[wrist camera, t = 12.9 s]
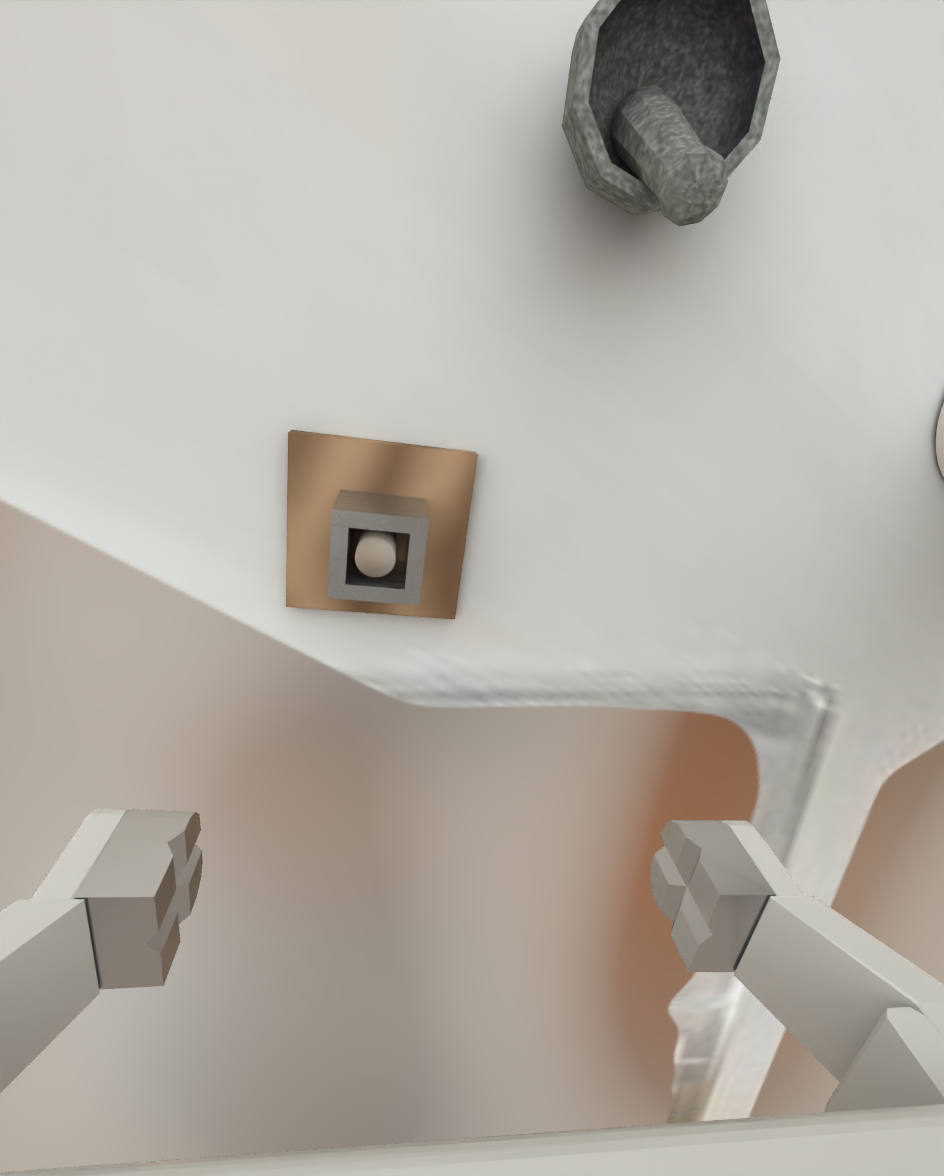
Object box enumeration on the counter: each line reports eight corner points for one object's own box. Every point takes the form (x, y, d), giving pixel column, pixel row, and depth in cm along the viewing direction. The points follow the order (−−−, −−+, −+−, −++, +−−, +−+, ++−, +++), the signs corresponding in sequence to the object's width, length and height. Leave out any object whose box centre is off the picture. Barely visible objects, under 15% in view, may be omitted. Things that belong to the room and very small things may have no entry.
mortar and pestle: (558, 3, 30) (649, -199, 19) (722, 38, 31) (899, -132, 20) (527, 249, 34) (587, 202, 23) (673, 270, 35) (796, 235, 24)
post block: (475, 452, 38) (487, 470, 33) (453, 612, 43) (461, 652, 37) (291, 429, 36) (271, 445, 31) (289, 599, 41) (270, 640, 35)
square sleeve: (425, 498, 38) (429, 519, 33) (417, 575, 40) (419, 605, 35) (340, 489, 37) (331, 509, 32) (336, 568, 39) (327, 598, 34)
